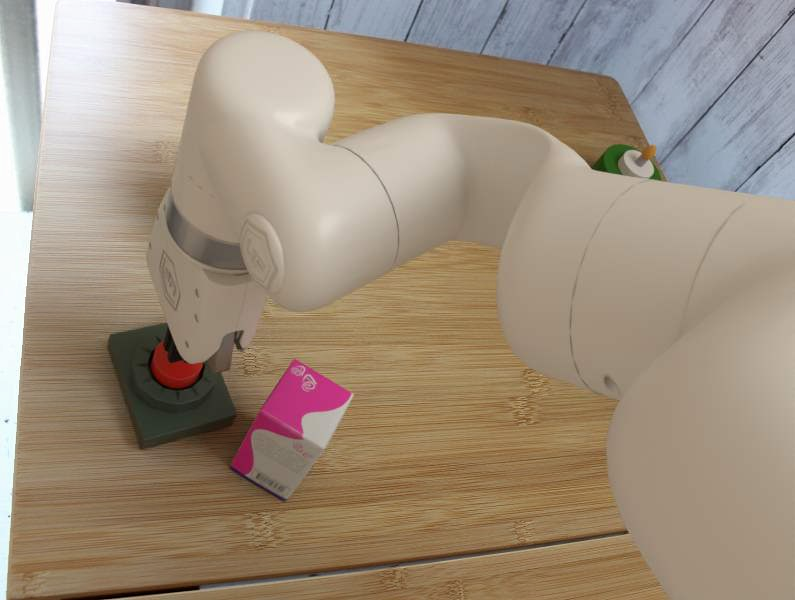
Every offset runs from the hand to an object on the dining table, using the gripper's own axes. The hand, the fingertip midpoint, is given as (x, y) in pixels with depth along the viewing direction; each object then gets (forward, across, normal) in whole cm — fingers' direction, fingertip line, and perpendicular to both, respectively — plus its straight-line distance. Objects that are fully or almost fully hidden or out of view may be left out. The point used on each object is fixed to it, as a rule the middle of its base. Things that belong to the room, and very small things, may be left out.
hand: (185, 350), depth 67 cm
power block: (+7, 0, 0) cm, 7 cm away
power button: (+4, 0, 0) cm, 4 cm away
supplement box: (+8, +8, +6) cm, 13 cm away
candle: (+8, -11, +61) cm, 62 cm away
